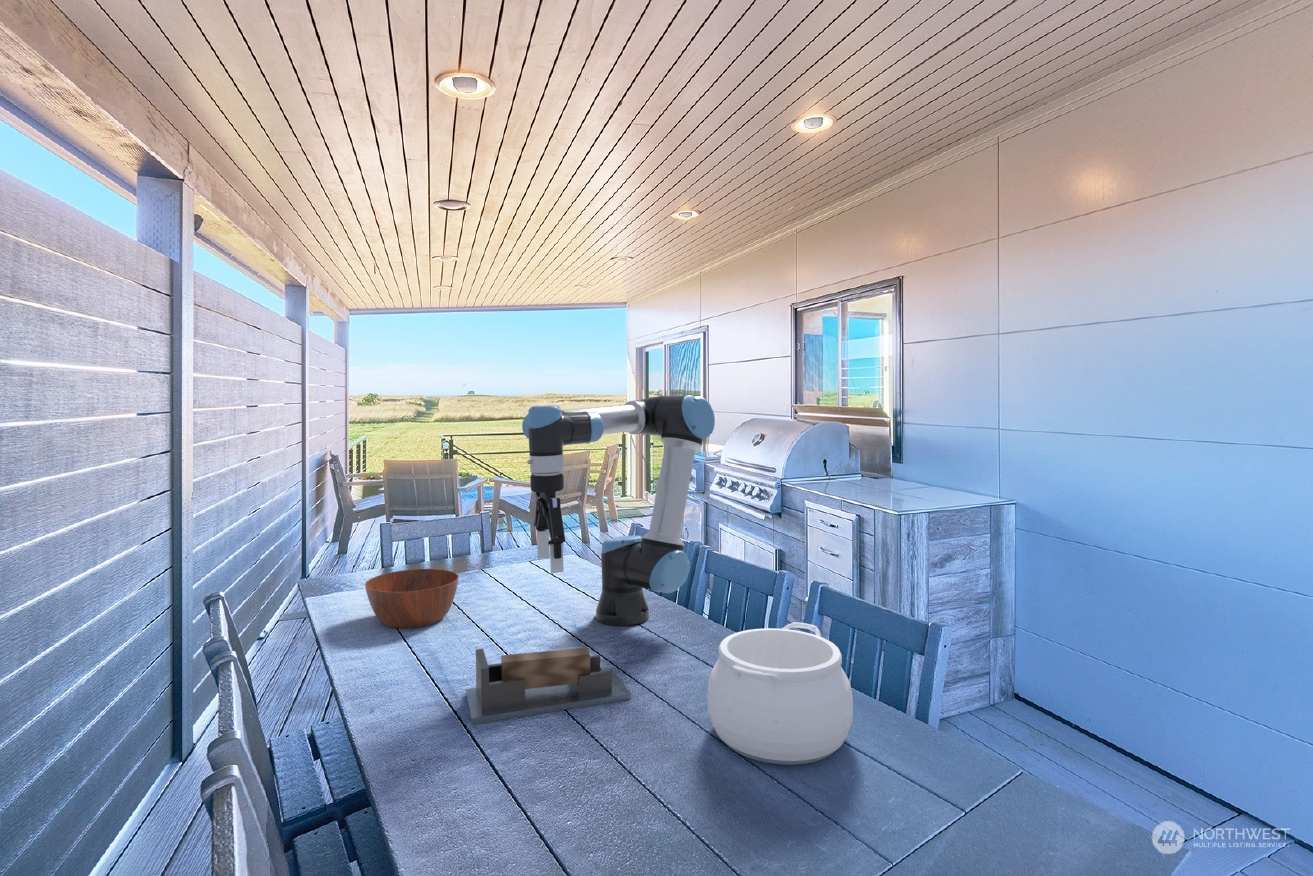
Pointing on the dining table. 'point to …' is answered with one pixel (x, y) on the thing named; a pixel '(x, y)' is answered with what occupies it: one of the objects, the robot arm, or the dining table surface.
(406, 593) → the bowl
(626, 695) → the block fixture
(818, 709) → the pot
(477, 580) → the dining table surface
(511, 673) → the rail
